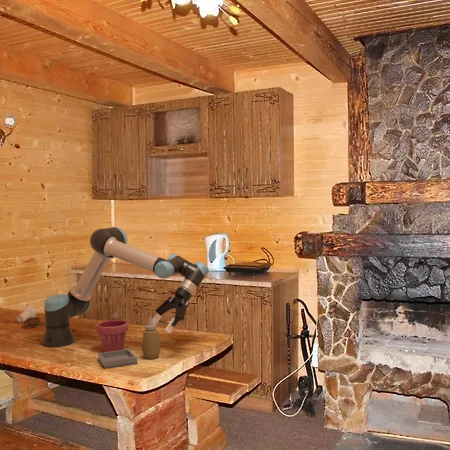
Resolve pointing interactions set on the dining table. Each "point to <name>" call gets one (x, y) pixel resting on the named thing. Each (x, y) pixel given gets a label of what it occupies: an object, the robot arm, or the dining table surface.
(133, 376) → the dining table surface
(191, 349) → the dining table surface
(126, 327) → the plant pot
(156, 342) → the squeeze bottle
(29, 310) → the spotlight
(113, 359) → the tray
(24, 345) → the dining table surface
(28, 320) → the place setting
